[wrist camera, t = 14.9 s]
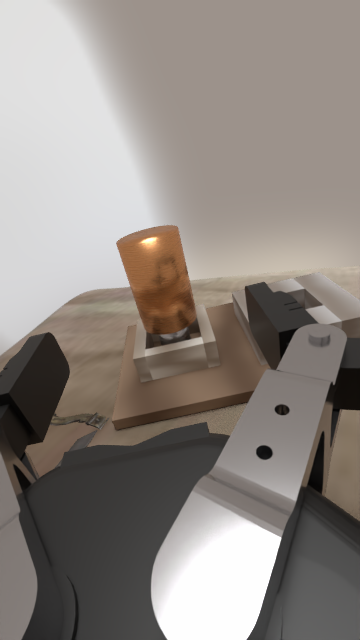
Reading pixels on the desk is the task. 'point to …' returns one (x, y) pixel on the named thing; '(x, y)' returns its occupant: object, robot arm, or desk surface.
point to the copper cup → (159, 282)
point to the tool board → (214, 355)
